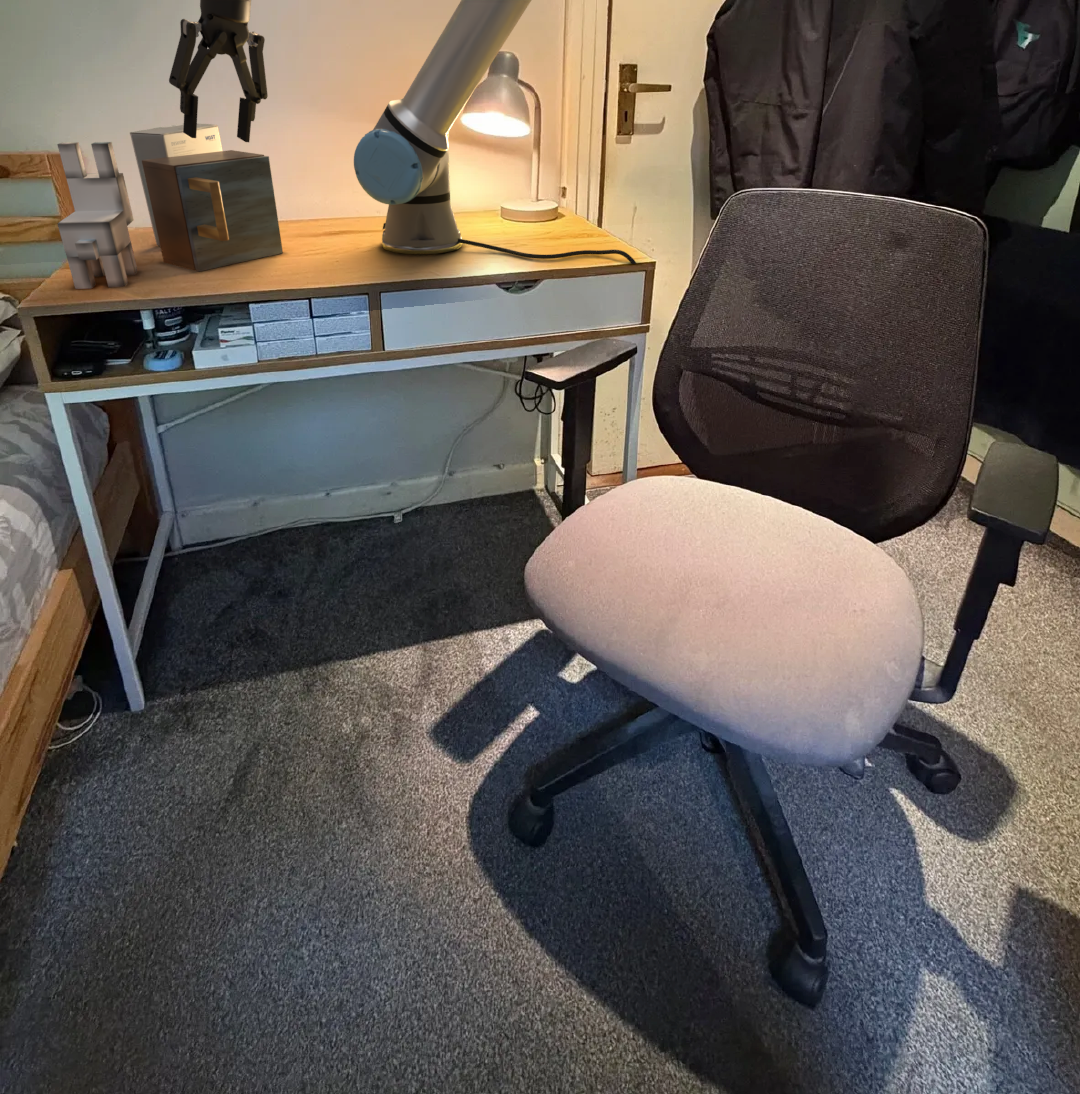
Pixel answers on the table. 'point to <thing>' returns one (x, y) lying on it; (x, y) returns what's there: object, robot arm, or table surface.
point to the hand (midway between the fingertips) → (217, 137)
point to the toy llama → (97, 218)
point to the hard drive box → (171, 149)
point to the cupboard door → (229, 211)
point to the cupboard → (176, 201)
